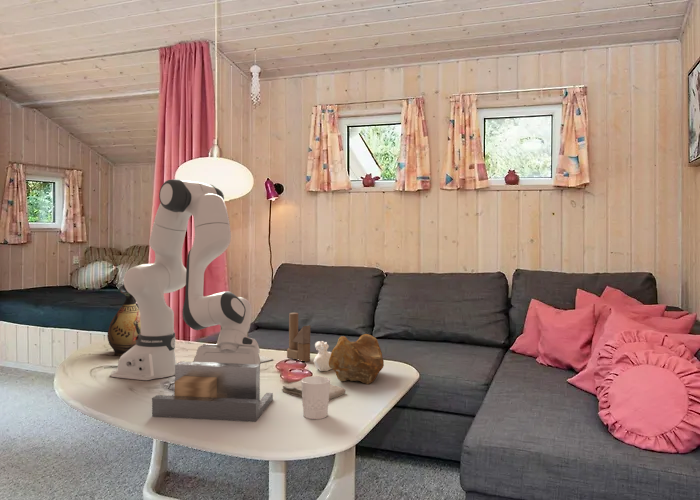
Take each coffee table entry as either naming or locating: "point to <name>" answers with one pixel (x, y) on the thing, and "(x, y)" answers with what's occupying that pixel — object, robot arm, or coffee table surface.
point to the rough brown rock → (357, 359)
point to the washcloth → (296, 389)
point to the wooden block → (298, 340)
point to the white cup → (315, 396)
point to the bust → (322, 356)
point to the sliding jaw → (226, 377)
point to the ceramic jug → (124, 325)
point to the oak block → (196, 386)
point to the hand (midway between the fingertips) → (221, 385)
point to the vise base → (209, 407)
